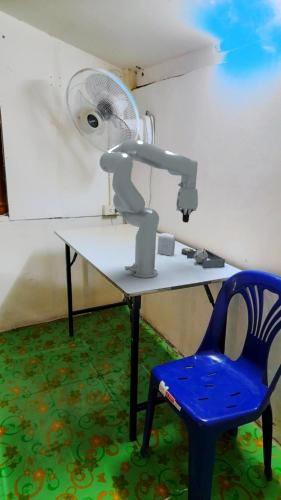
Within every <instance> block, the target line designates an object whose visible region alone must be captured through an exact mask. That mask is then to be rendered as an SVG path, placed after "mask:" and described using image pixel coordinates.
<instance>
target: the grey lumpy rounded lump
mask: <svg viewBox="0 0 281 500" xmlns="http://www.w3.org/2000/svg"><path fill="white" fill-rule="evenodd" d="M205 250H206V248H203V249H198V248H195V251H196V252H195V254H194V256H192V257H194V258H193V259H194V260H195V262H196V265H198V264H203V260H208V256H210V255H208V254H207V253H206V251H205Z"/></svg>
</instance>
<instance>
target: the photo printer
mask: <svg viewBox="0 0 281 500" xmlns="http://www.w3.org/2000/svg"><path fill="white" fill-rule="evenodd" d="M175 247H176V236H175V235H173V234H172V233H166V232H165V233H164V232H162V233H159V234H158V237H157V254H159V255H165V256H169V257H170V256H171V257H173V256H175Z"/></svg>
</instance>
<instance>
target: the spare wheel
mask: <svg viewBox="0 0 281 500" xmlns="http://www.w3.org/2000/svg"><path fill="white" fill-rule="evenodd" d="M187 251H195V250H194V249H193V248H189V247H188V248H187V247H186V248H185V247H184V248H181V255H183V256H187Z"/></svg>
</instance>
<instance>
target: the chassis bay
mask: <svg viewBox="0 0 281 500" xmlns="http://www.w3.org/2000/svg"><path fill="white" fill-rule="evenodd" d="M205 251H206V253H207V254H208V255H210V256H208V258H207V260H203V263H202V265H201V267H202V269H203V270H204V269H211V268H212V269H213V268H214V269H215V268H224V267H225V263H226V259H225V258H223V257H221V256H219V255H218V254H216V253H214V252H212V251H210V250H207V249H205ZM195 252H196V250H194V251H187V255H186V258H187V259H194V257H192V256H194V254H195Z"/></svg>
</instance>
